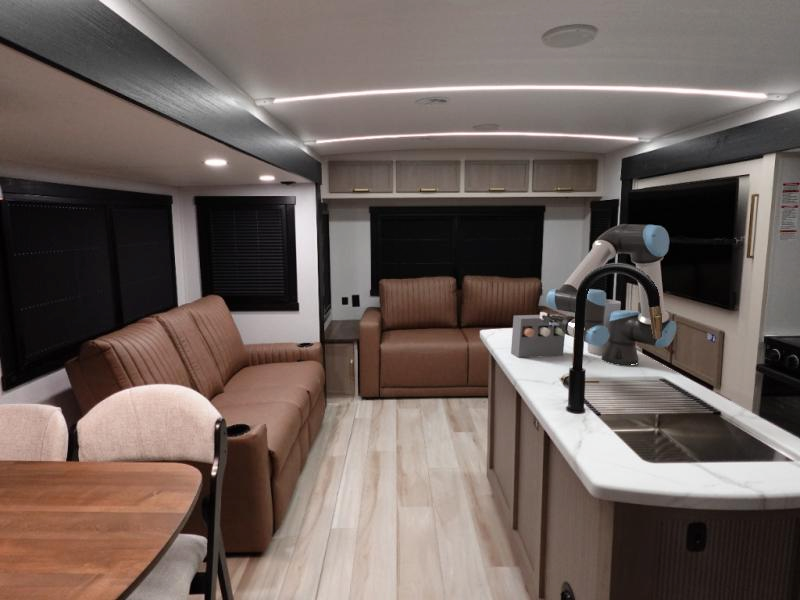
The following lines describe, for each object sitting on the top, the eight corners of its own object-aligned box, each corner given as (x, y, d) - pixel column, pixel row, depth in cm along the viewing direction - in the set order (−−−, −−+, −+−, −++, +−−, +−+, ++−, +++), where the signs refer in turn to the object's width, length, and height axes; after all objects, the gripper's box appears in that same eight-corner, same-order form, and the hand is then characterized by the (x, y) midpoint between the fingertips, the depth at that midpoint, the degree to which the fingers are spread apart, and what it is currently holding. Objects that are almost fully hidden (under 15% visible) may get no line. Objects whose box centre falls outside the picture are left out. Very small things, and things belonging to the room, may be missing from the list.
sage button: (560, 333, 227) (561, 325, 227) (565, 335, 224) (566, 327, 223) (553, 334, 226) (554, 326, 226) (558, 336, 223) (559, 327, 222)
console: (554, 351, 235) (557, 314, 232) (563, 355, 229) (566, 317, 226) (511, 353, 229) (513, 315, 226) (518, 357, 222) (521, 318, 219)
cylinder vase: (612, 357, 227) (618, 304, 222) (584, 353, 234) (589, 301, 229) (617, 352, 237) (623, 301, 233) (590, 347, 244) (595, 298, 240)
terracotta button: (529, 335, 223) (530, 326, 222) (534, 337, 219) (534, 328, 219) (522, 335, 222) (522, 327, 221) (526, 337, 218) (527, 329, 218)
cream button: (545, 334, 225) (545, 326, 225) (550, 336, 221) (550, 328, 221) (537, 334, 224) (538, 326, 224) (542, 336, 220) (543, 328, 220)
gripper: (559, 337, 186) (527, 324, 208) (588, 336, 189) (554, 323, 212) (560, 317, 184) (528, 306, 207) (590, 317, 188) (555, 306, 210)
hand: (541, 315), depth 209 cm, fingers closed
